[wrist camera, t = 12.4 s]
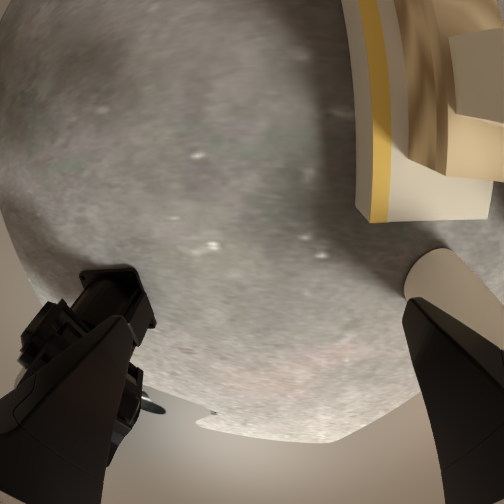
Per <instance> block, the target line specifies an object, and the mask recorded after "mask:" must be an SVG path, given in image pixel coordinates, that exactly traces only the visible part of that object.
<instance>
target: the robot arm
mask: <svg viewBox="0 0 504 504" xmlns="http://www.w3.org/2000/svg"><path fill="white" fill-rule="evenodd" d="M130 273H131V274H133V275H134V276H132V275H131V274H130ZM79 278H80V280H81V283H82V285H83V287H84V291H83V292H82V293H81V294H80V296H79V297H78V298H77V300H76V301H75V302H74V304H73V305H72V306H71V308H69V306H68V305H67V303H66V302H65V301H64V300H63V299H61V300H60V301H59V303H58V304H56V303H52V302H49V301H47V303H46V304H45V305H44V306H43V308H42V309H41V310H40V312H39V313H38V314H37V315H36V316H35V318H34V319H33V320H32V321H31V323H30V324H29V325H28V327H27V328H26V329H25V331H24V332H23V333H22V335H21V343H22V348H21V349H20V351H21V354H20V356H19V358H18V359H17V361H18V362H19V363H20V364H21V365H22V366H23V368H22V370H21V371H20V373H19V375H18V376H17V378H16V380H15V385H14V390H12V391H11V392H9V393H8V394H7V395H5V396H4V397H2V398H1V399H0V504H101V497H102V490H103V481H104V476H105V470H106V467H108V466H109V464H110V462H111V461H112V458H113V456H114V454H115V452H116V450H117V448H118V446H119V444H120V443H121V441H122V440H123V438H124V437H125V436H126V435H127V434H128V433H129V432H130V430H131V429H132V427H133V426H134V424H135V423H136V421H137V418H138V417H139V413H140V409H141V396H142V382H143V370H141V369H140V368H139V367H136V366H134V365H133V364H132V363H131V362H129V361H130V359H131V356H132V354H133V352H134V349H135V347H136V346H137V347H139V346H140V345H141V343H142V340H143V338H144V336H145V333H146V331H147V329H148V328H149V329H153V328H155V326H156V324H157V322H156V320H155V317H154V313H153V310H152V307H151V305H150V302H149V300H148V297H147V294H146V292H145V291H144V289H143V286H142V283H141V280H140V277H139V275H138V272H137V271H136V270H135V269H132V268H129V269H110V270H91V271H82V272H81V273H80V274H79ZM151 323H152V324H151ZM402 325H403V329H404V332H405V336H406V340H407V344H408V348H409V352H410V356H411V360H412V364H413V367H414V371H415V373H416V376H417V380H418V383H419V386H420V389H421V392H422V395H423V399H424V402H425V405H426V409H427V412H428V416H429V420H430V423H431V428H432V432H433V436H434V439H435V445H436V449H437V454H438V458H439V464H440V469H441V476H442V482H443V489H444V496H445V504H504V351H503V350H502V349H501V350H500V348H499V347H498V346H496V345H495V344H493V343H492V342H490V341H489V340H487V339H486V338H484V337H483V336H481V335H480V334H478V333H477V332H475V331H474V330H472V329H471V328H469V327H468V326H466V325H465V324H463V323H462V322H460V321H459V320H457V319H456V318H454V317H452V316H451V315H449V314H448V313H446V312H445V311H443V310H441V309H440V308H438V307H437V306H435V305H433V304H432V303H430V302H429V301H427V300H425V299H424V298H422V297H413V298H410V299H409V300H408V301H407V305H406V308H405V311H404V314H403V318H402Z"/></svg>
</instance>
